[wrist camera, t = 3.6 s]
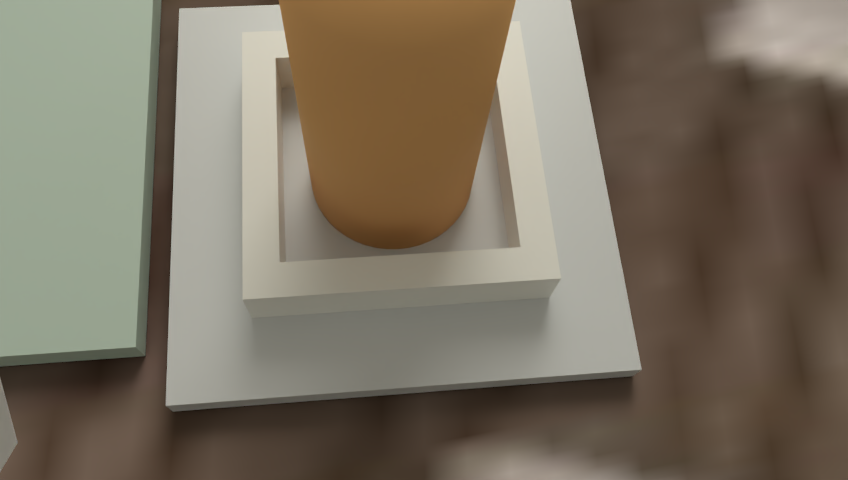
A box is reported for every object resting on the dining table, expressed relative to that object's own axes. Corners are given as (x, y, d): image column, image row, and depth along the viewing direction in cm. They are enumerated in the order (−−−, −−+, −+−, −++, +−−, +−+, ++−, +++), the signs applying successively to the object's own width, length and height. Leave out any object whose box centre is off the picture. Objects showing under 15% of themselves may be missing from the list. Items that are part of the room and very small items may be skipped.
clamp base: (632, 376, 28) (660, 354, 26) (172, 411, 27) (149, 393, 24) (564, 9, 35) (579, -40, 32) (184, 24, 33) (167, -26, 30)
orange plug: (480, 243, 29) (542, 40, 18) (313, 254, 29) (271, 52, 18) (463, 102, 31) (508, -157, 20) (308, 109, 31) (268, -151, 20)
